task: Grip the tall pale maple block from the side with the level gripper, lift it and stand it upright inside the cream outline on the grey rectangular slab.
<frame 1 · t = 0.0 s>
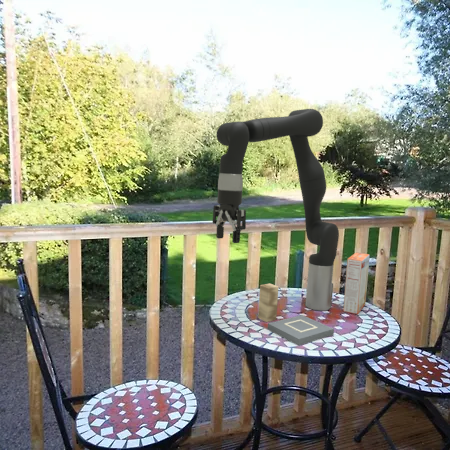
hand: (227, 240, 126), 29 cm above the table, tool pointing down, fingers open, 8 cm apart
maple block: (267, 318, 142), on the table
grey rectangular slab: (300, 331, 132), on the table
cracker box: (354, 308, 157), on the table
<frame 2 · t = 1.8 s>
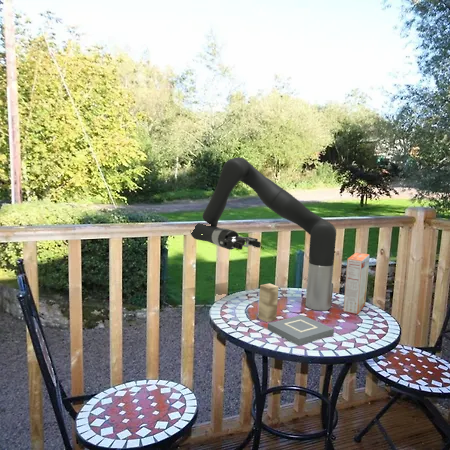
hand: (251, 245, 147), 24 cm above the table, tool horizontal, fingers open, 8 cm apart
nothing on the table moved.
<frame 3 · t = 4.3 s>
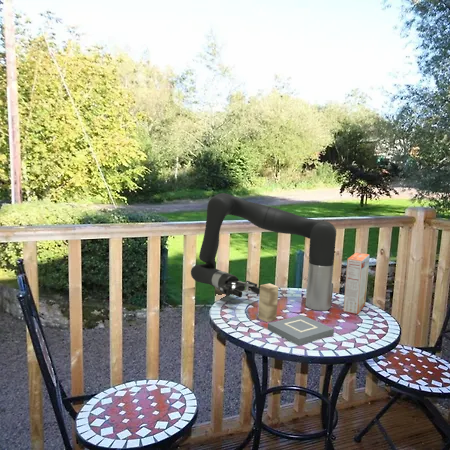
hand: (250, 293, 149), 6 cm above the table, tool horizontal, fingers open, 8 cm apart
nothing on the table moved.
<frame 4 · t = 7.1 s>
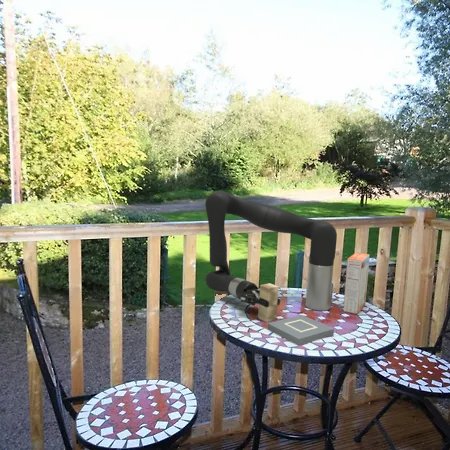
hand: (273, 303, 139), 7 cm above the table, tool horizontal, fingers closed on maple block, 4 cm apart
maple block: (267, 318, 142), on the table, touching gripper
everything else where it was.
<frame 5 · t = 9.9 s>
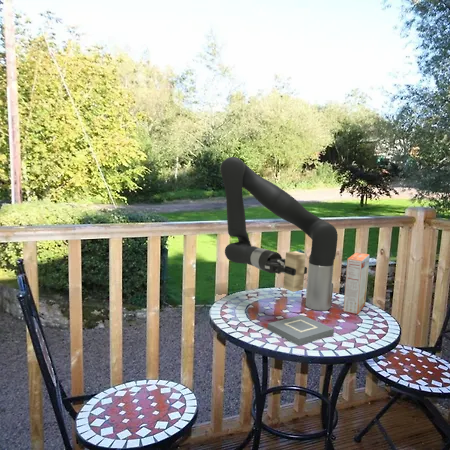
hand: (300, 271, 129), 20 cm above the table, tool horizontal, fingers closed on maple block, 4 cm apart
maple block: (293, 288, 132), point 13 cm above the table, touching gripper
everything else where it was.
when the fingers open (10 cm above the table, at t = 12.9 s): maple block drops 1 cm, resting on grey rectangular slab.
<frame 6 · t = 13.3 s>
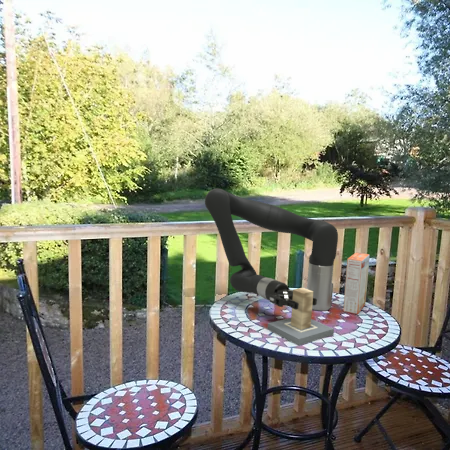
hand: (307, 304, 129), 10 cm above the table, tool horizontal, fingers open, 8 cm apart
maple block: (300, 326, 131), point 2 cm above the table, touching grey rectangular slab
everything else where it was.
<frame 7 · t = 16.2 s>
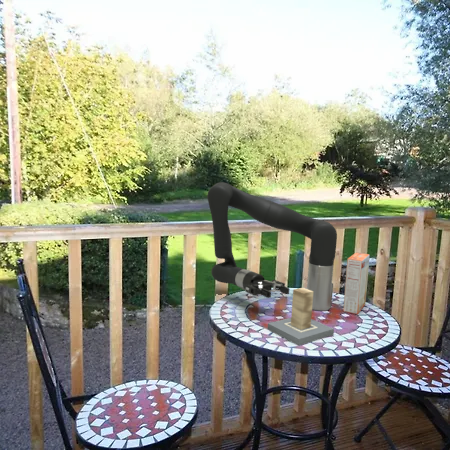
hand: (279, 293, 139), 10 cm above the table, tool horizontal, fingers open, 8 cm apart
nothing on the table moved.
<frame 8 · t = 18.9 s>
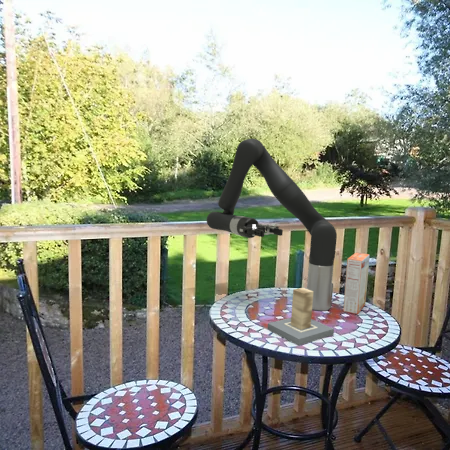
hand: (272, 233, 140), 30 cm above the table, tool horizontal, fingers open, 8 cm apart
nothing on the table moved.
at the end: maple block 0.0 cm off-centre on the grey rectangular slab, point 2.0 cm above the grey rectangular slab's base; maple block tilted 0°; the gripper is holding nothing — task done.
